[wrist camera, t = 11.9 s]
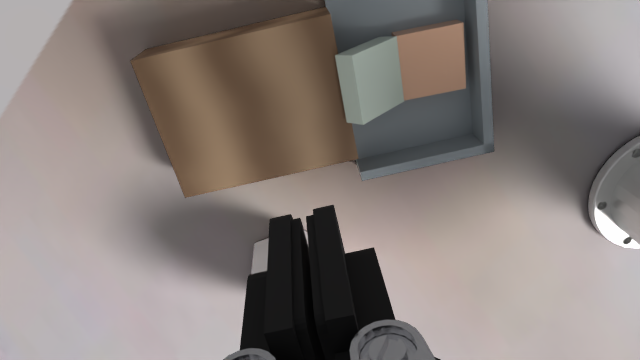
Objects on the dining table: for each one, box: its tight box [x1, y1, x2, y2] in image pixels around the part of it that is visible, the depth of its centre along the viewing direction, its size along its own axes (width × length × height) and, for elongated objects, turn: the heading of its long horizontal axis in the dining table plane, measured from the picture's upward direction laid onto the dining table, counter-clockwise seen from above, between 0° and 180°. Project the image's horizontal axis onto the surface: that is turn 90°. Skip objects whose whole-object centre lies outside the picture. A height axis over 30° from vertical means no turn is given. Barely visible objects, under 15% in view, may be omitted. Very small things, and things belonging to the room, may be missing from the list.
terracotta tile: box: [392, 20, 466, 101], centre depth 36 cm, size 5×5×2 cm
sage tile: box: [335, 36, 404, 125], centre depth 34 cm, size 5×5×2 cm
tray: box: [324, 0, 494, 181], centre depth 36 cm, size 11×16×3 cm
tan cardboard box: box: [131, 7, 358, 198], centre depth 36 cm, size 14×11×4 cm
